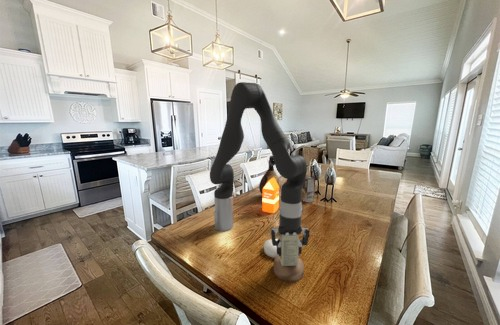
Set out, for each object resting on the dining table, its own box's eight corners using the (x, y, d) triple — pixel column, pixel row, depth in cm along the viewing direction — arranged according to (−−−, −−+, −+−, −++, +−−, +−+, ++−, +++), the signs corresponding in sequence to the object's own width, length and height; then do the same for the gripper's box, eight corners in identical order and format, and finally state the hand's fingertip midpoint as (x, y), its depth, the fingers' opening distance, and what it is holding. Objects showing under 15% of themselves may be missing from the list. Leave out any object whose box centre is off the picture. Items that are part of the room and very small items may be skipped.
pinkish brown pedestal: (276, 282, 71) (276, 274, 71) (271, 260, 82) (272, 254, 81) (307, 281, 72) (307, 273, 71) (299, 260, 82) (299, 253, 82)
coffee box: (314, 201, 141) (315, 178, 138) (306, 202, 139) (307, 179, 135) (306, 196, 149) (307, 175, 146) (298, 198, 147) (299, 176, 144)
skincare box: (295, 258, 78) (296, 228, 76) (298, 266, 74) (300, 235, 72) (278, 258, 78) (279, 229, 76) (280, 266, 74) (281, 235, 71)
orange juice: (262, 211, 127) (262, 179, 123) (267, 205, 134) (268, 176, 130) (273, 213, 123) (274, 181, 119) (279, 208, 131) (279, 177, 127)
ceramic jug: (282, 201, 141) (283, 158, 135) (259, 201, 141) (259, 158, 135) (279, 192, 157) (280, 154, 151) (258, 192, 158) (259, 154, 152)
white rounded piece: (265, 258, 84) (265, 252, 83) (263, 243, 93) (263, 238, 93) (289, 257, 84) (289, 252, 83) (285, 243, 94) (285, 238, 93)
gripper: (271, 217, 68) (270, 261, 72) (314, 216, 69) (311, 261, 72) (268, 208, 76) (268, 248, 79) (307, 207, 76) (305, 247, 79)
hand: (288, 254), depth 76 cm, fingers closed on skincare box, 6 cm apart
